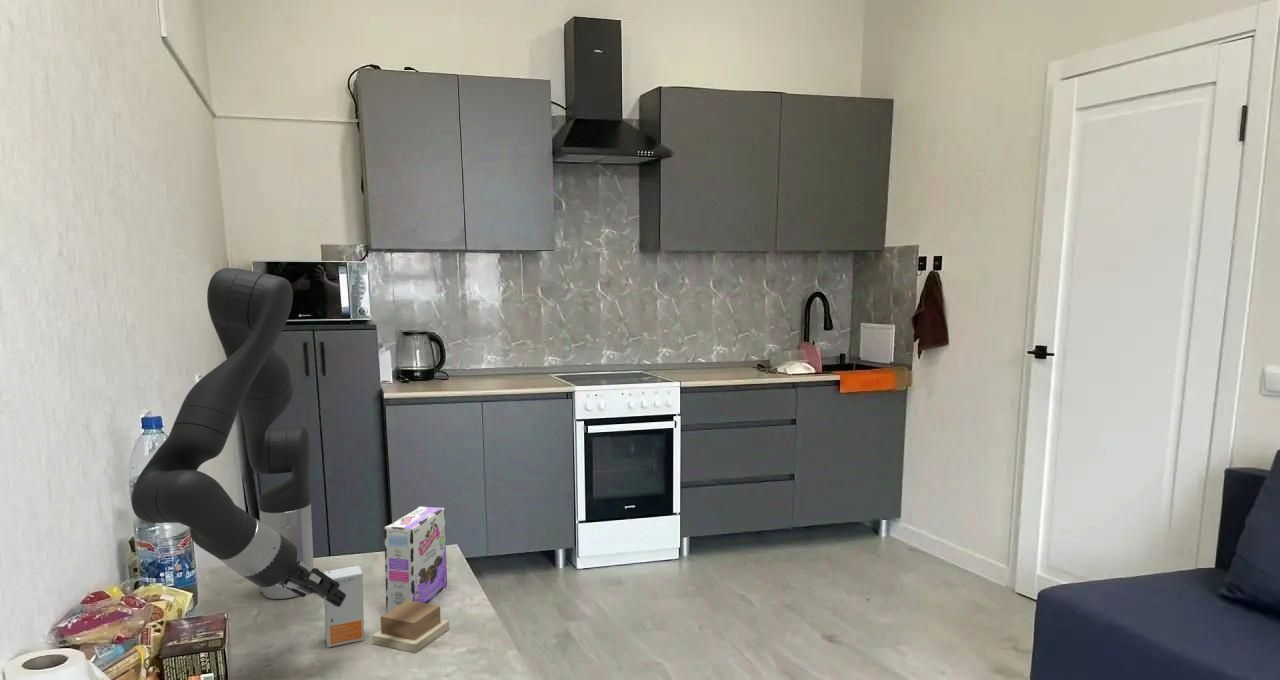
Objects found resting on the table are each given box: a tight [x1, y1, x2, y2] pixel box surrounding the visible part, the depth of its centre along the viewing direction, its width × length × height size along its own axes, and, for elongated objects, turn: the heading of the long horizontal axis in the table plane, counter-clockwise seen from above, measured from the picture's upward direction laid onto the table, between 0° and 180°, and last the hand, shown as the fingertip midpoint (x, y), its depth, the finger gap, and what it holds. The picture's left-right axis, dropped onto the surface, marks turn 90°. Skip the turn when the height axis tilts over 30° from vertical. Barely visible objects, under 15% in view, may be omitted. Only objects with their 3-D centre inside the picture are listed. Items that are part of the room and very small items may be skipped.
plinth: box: [371, 600, 450, 654], centre depth 126 cm, size 9×9×4 cm
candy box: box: [383, 506, 448, 613], centre depth 141 cm, size 14×6×16 cm, turn 168°
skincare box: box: [322, 565, 365, 648], centre depth 124 cm, size 6×4×12 cm
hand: (323, 596), depth 121 cm, fingers open, 8 cm apart
